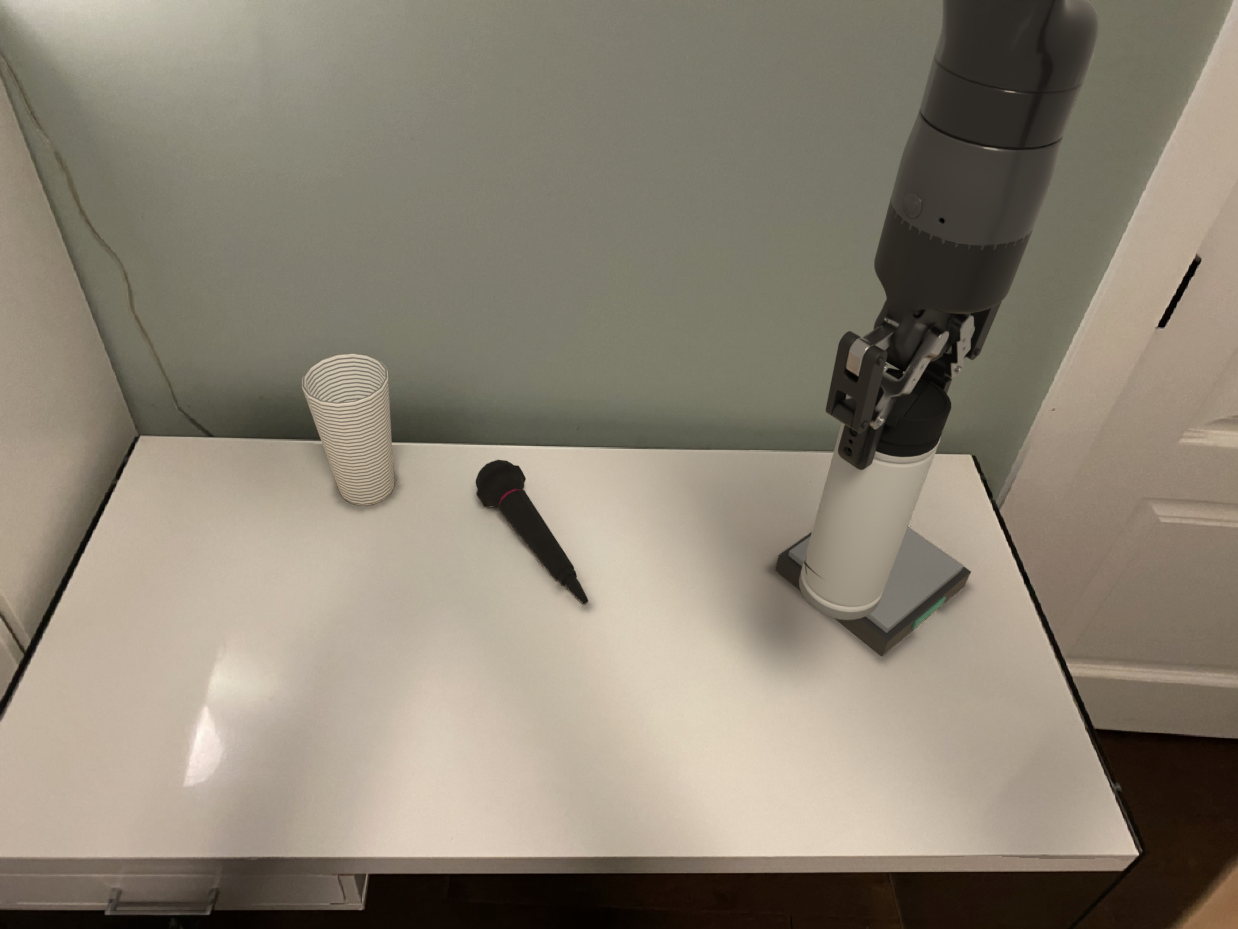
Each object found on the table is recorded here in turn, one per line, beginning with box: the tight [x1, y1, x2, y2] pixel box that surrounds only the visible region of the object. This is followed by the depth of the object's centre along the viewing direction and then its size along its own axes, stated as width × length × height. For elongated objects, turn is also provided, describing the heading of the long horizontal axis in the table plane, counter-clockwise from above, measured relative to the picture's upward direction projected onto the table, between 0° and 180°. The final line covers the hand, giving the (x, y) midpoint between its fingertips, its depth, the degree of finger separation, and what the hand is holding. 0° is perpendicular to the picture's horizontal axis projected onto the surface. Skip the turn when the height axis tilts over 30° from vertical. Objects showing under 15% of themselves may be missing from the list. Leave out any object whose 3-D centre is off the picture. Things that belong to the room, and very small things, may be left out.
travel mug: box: [799, 367, 952, 620], centre depth 64 cm, size 6×7×20 cm
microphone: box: [475, 459, 589, 605], centre depth 96 cm, size 6×6×20 cm
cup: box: [301, 352, 395, 506], centre depth 97 cm, size 8×8×16 cm
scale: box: [774, 526, 972, 657], centre depth 94 cm, size 14×14×3 cm
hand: (887, 437), depth 60 cm, fingers closed on travel mug, 6 cm apart
